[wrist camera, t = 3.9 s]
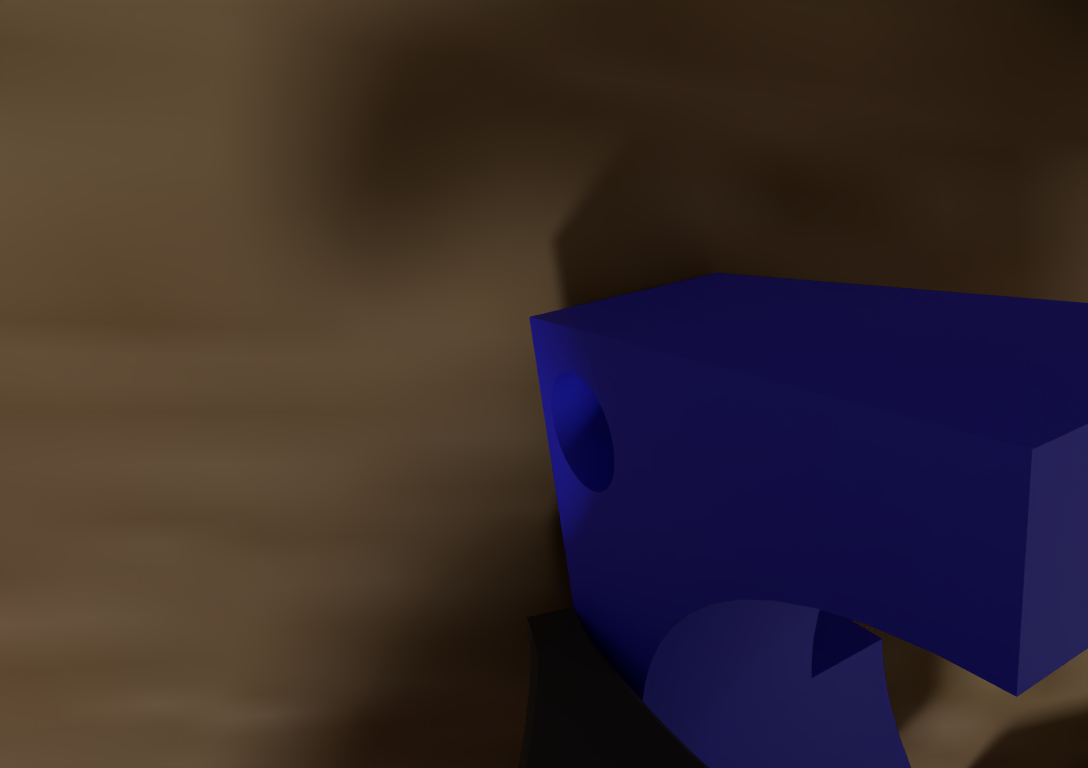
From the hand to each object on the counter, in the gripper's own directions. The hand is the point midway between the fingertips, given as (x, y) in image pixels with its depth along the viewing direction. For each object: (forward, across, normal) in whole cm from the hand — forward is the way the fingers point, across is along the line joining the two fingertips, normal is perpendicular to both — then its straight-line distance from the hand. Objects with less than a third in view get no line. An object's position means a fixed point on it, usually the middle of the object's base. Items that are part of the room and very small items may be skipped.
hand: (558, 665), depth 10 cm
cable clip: (+1, -2, +1) cm, 3 cm away
